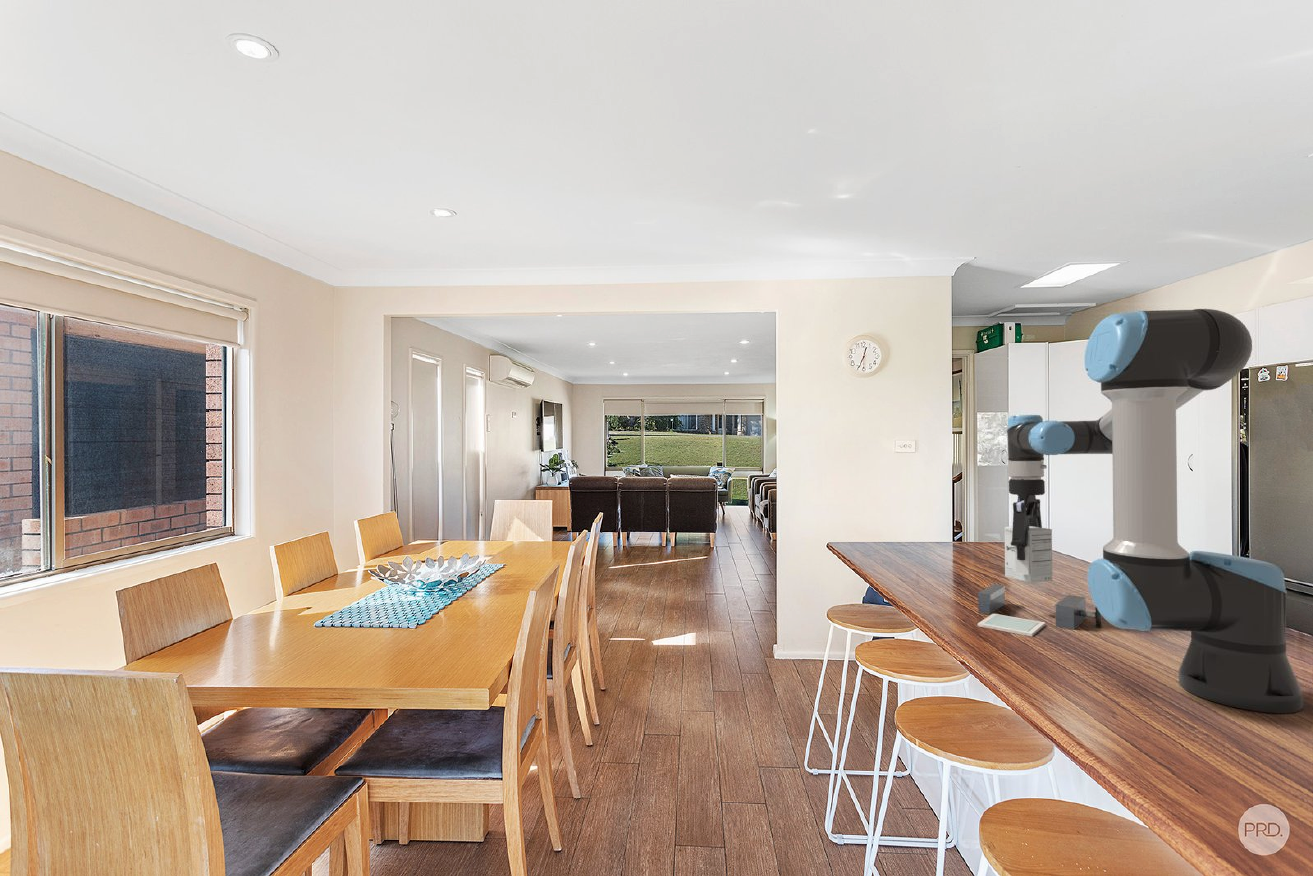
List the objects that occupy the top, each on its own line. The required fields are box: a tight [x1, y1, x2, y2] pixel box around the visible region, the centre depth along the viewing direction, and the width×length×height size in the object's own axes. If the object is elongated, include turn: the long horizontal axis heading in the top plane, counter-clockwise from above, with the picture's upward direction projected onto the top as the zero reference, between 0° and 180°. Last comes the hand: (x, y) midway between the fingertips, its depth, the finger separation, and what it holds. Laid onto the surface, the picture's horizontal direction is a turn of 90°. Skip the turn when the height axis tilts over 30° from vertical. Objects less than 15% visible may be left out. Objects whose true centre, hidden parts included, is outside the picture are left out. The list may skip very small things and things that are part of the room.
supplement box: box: [1003, 525, 1053, 584], centre depth 149 cm, size 7×7×13 cm
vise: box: [977, 583, 1102, 631], centre depth 148 cm, size 12×24×5 cm, turn 45°
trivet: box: [977, 613, 1046, 637], centre depth 142 cm, size 11×11×1 cm
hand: (1028, 570), depth 149 cm, fingers closed on supplement box, 9 cm apart
